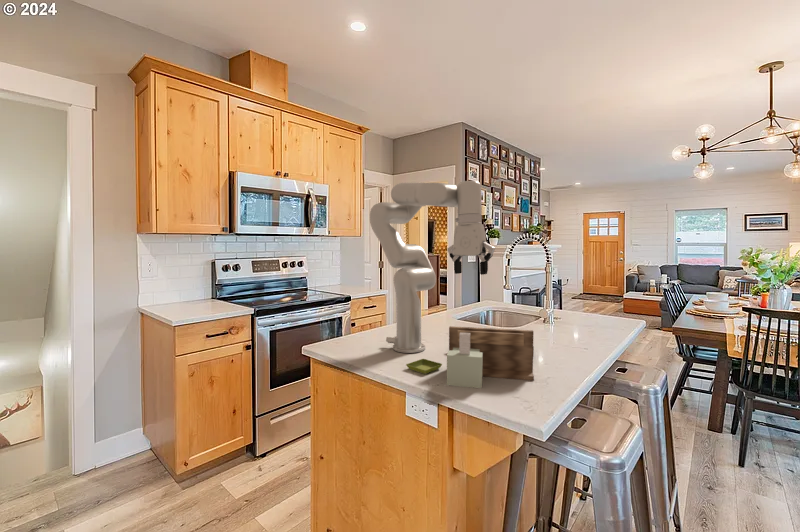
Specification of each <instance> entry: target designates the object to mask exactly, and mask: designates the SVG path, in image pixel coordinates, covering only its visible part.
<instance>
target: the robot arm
mask: <svg viewBox="0 0 800 532" xmlns="http://www.w3.org/2000/svg"><path fill="white" fill-rule="evenodd" d="M390 197H391V199H392V201H393V202H388V201H385V202H384V201H382V202H377V203H375V204H374V205H373V206H372V207H371V209H370V210H369V223H370V227H371V230H372V231H373V233H374V235H375V236H376V238H377V239H378V241H379V243H380V245H381V248H382V251H383V252H384V254H385V256H386V259H387V261H388V264H389V265H390V266H391V268H393V269H397V271H395V273H394V275H393V285H394V292H395V299H396V301H395V302H396V304H395V305H396V309H395V310H396V336H394V337H391V336H386V340H385V341H386V343H388V344H393V345H392V350H393V351H395V352H398V353H402V354H416V353H420V352H423V351H425V349H426V345H425V344H424V343H422V303H421V299H420V297H419V295H418V293H417V292H421V291H422V292H423V291H428V290H429V291H430V290H431V289H433V288H434V287H435V286H436V282H437V275H436V272H435V270H434V268H433V266H432V264H431V262H430V259H429V258H428V255H427V254H426V251H425V250H424V248H423V247H422V246H420V245H418V244H413V243H409V244H408V243H405V242H404V241H403V238H402V237H401V235H400V233H399V232H398V230H397V229H395V227H393V225H395V224H396V225H397V224H398V225H405V224H407V223H409V222H410V221H412V219H413V218H414V217H415V216H416V215H417V213H418V212H419V211H420V210H421V209H422V207H426V206H428V207H429V206H431V207H444V208H448V207H449V208H457V217H456V218H455V219H454V221H455V222H456V223H457V225H455V227H454V231H453V232H454V233H453V244H452V245H450V246H449V247H448V248H447V252H448V255H449V257H450V258H451V260H452V262H453V268H454V269H453V271H454V274H456V275H457V274H461V273H462V272H463V271H462V263H463V262H462V260H461V259H462V258H463V257H466V256H467V257H476V256H478V258H479V259H480V260H481V261H480V262H479V274H480V275H482V276H484V275H488V271H489V265H488V264H489V263H488V262H489V261H490V260H491V258H492V257H493V254H494V252H495V250H496V247H495V246H493V245H491V244H490V243H488V242H487V237H486V229H485V226H484V224H482V220H483V218H482V215H483V214H482V184H481V183H480V182H479V181H477V180H463V181H461V182H460V183H458V184H453V183H445V182H399V183H396V184H395V185H393V187H392V189H391V190H390ZM487 250H488V251H487Z"/></svg>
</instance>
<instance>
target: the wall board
mask: <svg viewBox="0 0 800 532" xmlns="http://www.w3.org/2000/svg"><path fill="white" fill-rule="evenodd" d="M460 332H461V333H471V338H470V349H480V352H483V366H482V378H483V377H484V378H497V379H498V378H499V379H511V380H512V379H513V380H523V381H524V380H525V381H534V380H535V377H534V376H535V375H534V369H533V368H534V355H533V346H534V330H533V329H532V330H531V329H529V330H528V329H512V328H511V329H510V328H496V327H495V328H492V327H491V328H490V327H470V326H451V325H450V326H449V327H448V351H449V350H451V351H452V350H453V348H459V338H460Z"/></svg>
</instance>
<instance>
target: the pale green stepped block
mask: <svg viewBox="0 0 800 532" xmlns="http://www.w3.org/2000/svg"><path fill="white" fill-rule="evenodd" d="M470 338H471V333H461V332H460V338H459V348H453V350H452V351H451V350H449V349H448V352H447V354H446V386H449V385H452V386H451V387H463V388H473V387H474V388H475V389H482V388H483V376H482V366H483V352H480V349H470Z"/></svg>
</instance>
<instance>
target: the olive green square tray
mask: <svg viewBox="0 0 800 532" xmlns="http://www.w3.org/2000/svg"><path fill="white" fill-rule="evenodd" d="M442 365H443V363H442V362H441V363H440V362H436V361H433V360H429V359H428V358H427V359H426V358H421V359H417V360H415V361H412V362H409V363H406V364H405V366H406V367H407V368H408V369H409V370H410V369H411V370H412V371H413V370H414V371H413V372H418V373H421V374H424V375H426V374H429V372H430V373H432V372H434V371H436V370H439V369H440V368H441V366H442ZM411 370H410V371H411Z"/></svg>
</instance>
